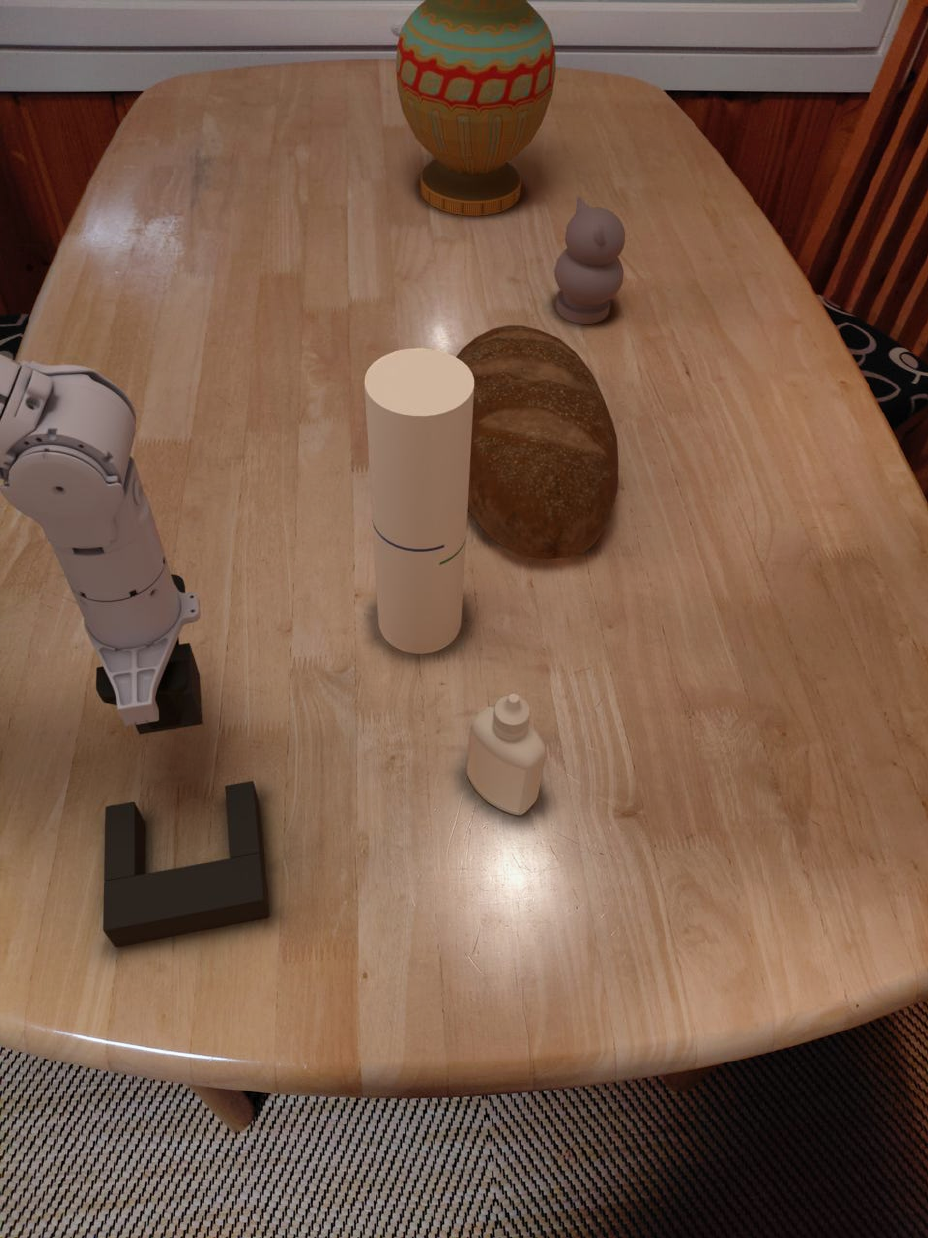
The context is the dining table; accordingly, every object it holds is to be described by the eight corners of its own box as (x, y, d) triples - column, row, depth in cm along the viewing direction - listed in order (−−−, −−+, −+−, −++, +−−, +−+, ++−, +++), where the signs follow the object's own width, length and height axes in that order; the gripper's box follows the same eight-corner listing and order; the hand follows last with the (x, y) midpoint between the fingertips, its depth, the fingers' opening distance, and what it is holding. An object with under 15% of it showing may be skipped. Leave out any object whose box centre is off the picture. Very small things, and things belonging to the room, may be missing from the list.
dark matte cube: (139, 735, 65) (125, 703, 62) (138, 684, 68) (125, 651, 65) (203, 724, 66) (192, 693, 63) (200, 675, 69) (189, 642, 66)
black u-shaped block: (114, 947, 62) (102, 931, 59) (116, 825, 67) (105, 806, 65) (269, 917, 63) (264, 899, 61) (258, 800, 69) (253, 780, 67)
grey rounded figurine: (627, 324, 109) (647, 227, 100) (564, 333, 107) (578, 235, 98) (600, 285, 114) (617, 188, 105) (540, 293, 112) (551, 195, 103)
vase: (546, 163, 134) (572, -93, 110) (538, 234, 121) (566, -37, 98) (409, 151, 134) (406, -105, 111) (387, 220, 122) (379, -52, 99)
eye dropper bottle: (487, 828, 68) (498, 742, 59) (461, 764, 71) (467, 673, 62) (542, 810, 69) (561, 723, 60) (514, 748, 72) (528, 656, 63)
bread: (469, 578, 83) (475, 484, 74) (427, 377, 101) (428, 282, 92) (637, 563, 85) (662, 469, 76) (567, 368, 103) (581, 275, 94)
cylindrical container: (369, 598, 81) (353, 357, 62) (447, 581, 83) (455, 341, 63) (390, 662, 77) (379, 424, 58) (472, 643, 79) (488, 405, 59)
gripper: (189, 650, 52) (229, 772, 62) (181, 475, 60) (216, 608, 71) (56, 670, 51) (119, 791, 61) (67, 488, 59) (121, 622, 70)
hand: (165, 694), depth 66 cm, fingers closed on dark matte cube, 4 cm apart
